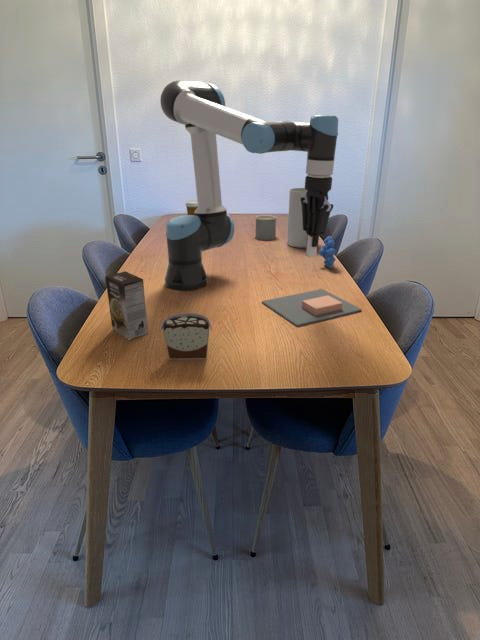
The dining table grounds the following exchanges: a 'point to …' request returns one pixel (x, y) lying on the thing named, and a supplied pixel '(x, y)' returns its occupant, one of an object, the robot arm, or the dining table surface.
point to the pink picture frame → (322, 305)
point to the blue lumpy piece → (328, 251)
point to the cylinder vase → (296, 219)
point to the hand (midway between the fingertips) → (311, 256)
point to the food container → (186, 336)
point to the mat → (299, 316)
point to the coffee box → (127, 304)
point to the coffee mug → (265, 227)
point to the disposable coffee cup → (191, 207)
